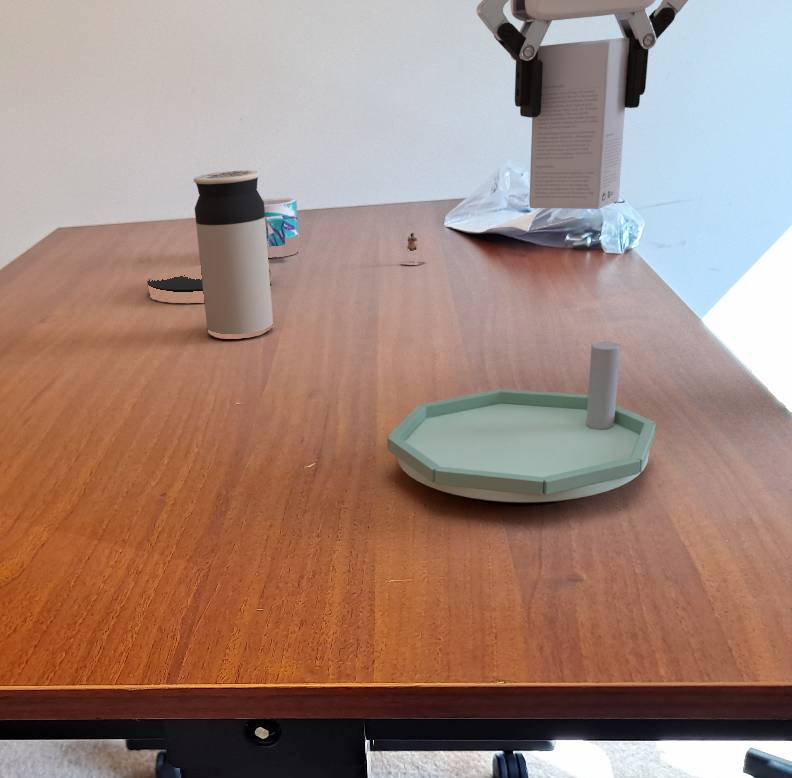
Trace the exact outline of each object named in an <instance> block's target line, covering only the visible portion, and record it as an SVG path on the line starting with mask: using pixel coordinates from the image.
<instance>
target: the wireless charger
mask: <svg viewBox="0 0 792 778" xmlns="http://www.w3.org/2000/svg"><path fill="white" fill-rule="evenodd" d="M269 272H270V273H271V269H270V270H269ZM184 276H185V275H184ZM146 283H148V284H147V286H148V285H149V286H151V287H153V288H156V289H160V290H166V291H173V292H193V291H203V284H202V279H201V280H200V279H196V280H195V279H191V278H189V279H188V277H183V276H180V277H174V278H172V279H171V278H170V279H167V280H163V279H162V280H161V281H159V280H157V281H155V280H154V281H153V280H152V281H151V282H150V280H149V281H148V280H147V281H146Z"/></svg>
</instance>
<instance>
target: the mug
mask: <svg viewBox="0 0 792 778" xmlns="http://www.w3.org/2000/svg"><path fill="white" fill-rule="evenodd" d="M262 200H263V201H264V209H265V222H266V236H267V241H268V244H269V247H271V246H281V245H285V239H287V238H291V237H295V236H296V235H297V234H298V235H299V222H298V221H299V220H298V205H297V199H294V198H290V197H274V198H262Z"/></svg>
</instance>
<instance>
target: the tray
mask: <svg viewBox="0 0 792 778" xmlns="http://www.w3.org/2000/svg"><path fill="white" fill-rule="evenodd" d="M621 347H622V346H621V344H620V343H618V342H615V341H598V342H594V343H593V344H591V350H590V362H589V378H588V390H587V391H588V392H587V394H584V393H568V392H555V391H554V392H553V391H540V390H523V389H506V388H500V389H498V388H497V389H492V390H488V391H487V390H486V391H482V392H481V391H480V392H477V393H476V392H475V393H471V394H467V395H461V396H456V397H451V398H450V397H449V398H445V399H439V400H435V401H430V402H425V403H420V404H419V405H416V406H415V407H414V408H413V409H412V411H411V410H410V412H409V413H408V414H407V415H406V416H405V417H404V418H403V419H402V421H401V422H399V424H397V425H396V426H395V428H394V429H392V430H391V431H390V432H389V434H388V435H386V449H387V451H388V452H389V453H391V454H392V455H394V456H395V457H396V460H397V464H398V466H400V468H401V469H402V471H403V472H404V473H406V474H407V475H408V477H411V478H412V479H414V480H415V481H417V482H419V483H421V484H423V485H425V486H427V487H429V488H432V489H435V490H437V491H440V492H444V493H447V494H451V495H455V496H459V497H465V498H467V497H469V498H468V499H471V498H476V499H483V500H491V501H503V502H548V501H560V500H566V501H569V500H574V499H580V498H585V497H591V496H595V495H598V494H602V493H605V492H608V491H611V490H615V489H618V488H620V487H621V486H624V485H626V484H628V483H629V482H632V481H633V480H634V479H635V478H638V476H639V475H640V474H641V473H642V472H643V471H644V469H645V468H646V466H647V464H648V462H649V455H650V454H649V453H650V449H651V447H652V444H653V441H654V439H655V436H656V428H657V427H656V426H657V424H656V422H655V421H654V420H651V419H649V418H647V417H645V416H642V415H640V414H638V413H636V412H633V411H631V410H629V409H626V408H624V407H622V406H620V405H618V404H617V396H618V395H617V394H618V393H617V392H618V382H619V381H618V380H619V371H620V357H621ZM568 499H569V500H568Z"/></svg>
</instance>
